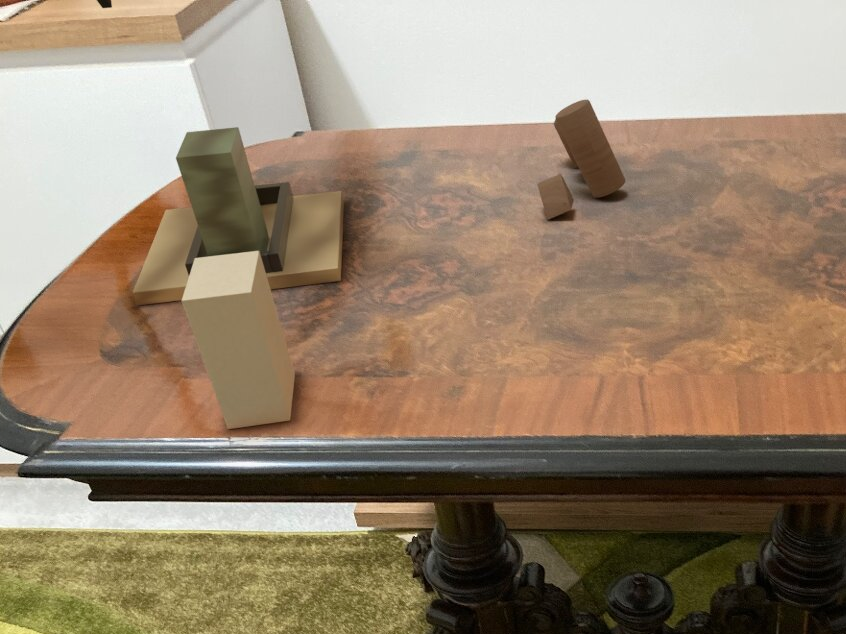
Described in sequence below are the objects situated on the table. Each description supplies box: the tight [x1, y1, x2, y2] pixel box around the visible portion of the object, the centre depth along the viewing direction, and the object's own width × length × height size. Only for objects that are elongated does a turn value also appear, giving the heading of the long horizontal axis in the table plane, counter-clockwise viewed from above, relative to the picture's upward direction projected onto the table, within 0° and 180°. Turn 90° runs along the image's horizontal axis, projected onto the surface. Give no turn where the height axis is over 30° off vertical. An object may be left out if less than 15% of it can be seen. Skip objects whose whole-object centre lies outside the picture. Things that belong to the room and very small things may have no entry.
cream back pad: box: [181, 251, 296, 430], centre depth 74 cm, size 5×7×12 cm
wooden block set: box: [536, 99, 626, 220], centre depth 108 cm, size 18×9×10 cm, turn 176°
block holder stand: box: [132, 126, 345, 306], centre depth 97 cm, size 20×20×14 cm
